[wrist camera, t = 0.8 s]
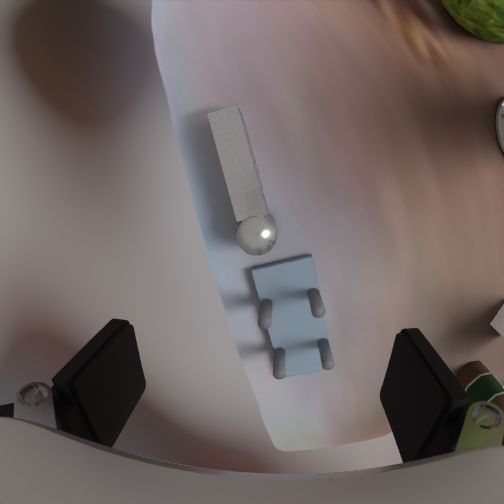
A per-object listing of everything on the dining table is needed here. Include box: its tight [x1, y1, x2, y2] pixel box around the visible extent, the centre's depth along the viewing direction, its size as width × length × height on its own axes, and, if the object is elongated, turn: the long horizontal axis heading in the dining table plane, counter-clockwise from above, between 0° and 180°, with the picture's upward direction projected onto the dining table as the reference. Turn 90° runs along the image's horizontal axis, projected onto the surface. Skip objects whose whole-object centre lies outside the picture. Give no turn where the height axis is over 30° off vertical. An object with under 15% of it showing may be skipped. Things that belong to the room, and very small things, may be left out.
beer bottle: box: [456, 361, 504, 412], centre depth 30 cm, size 8×8×24 cm
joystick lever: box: [207, 105, 277, 255], centre depth 35 cm, size 17×5×4 cm, turn 15°
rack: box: [252, 255, 334, 379], centre depth 38 cm, size 18×8×7 cm, turn 15°
